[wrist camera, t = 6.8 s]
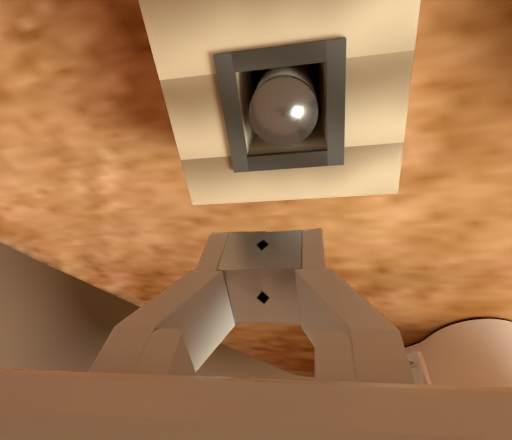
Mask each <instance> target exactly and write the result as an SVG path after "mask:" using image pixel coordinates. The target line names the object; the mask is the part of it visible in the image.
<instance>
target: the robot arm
mask: <svg viewBox="0 0 512 440" xmlns="http://www.w3.org/2000/svg"><path fill="white" fill-rule="evenodd" d="M235 323H286V324H300V326H301V328H302V329H303V331H304V332H305V334H306V335H307V337H308V339H309V340H310V342H311V343H312V345H313V346H314V348H315V380H296V379H294V380H293V379H269V378H243V377H216V376H197V374H196V371H197V370H198V369H199V368H200V367H201V365H202V364H203V363H204V362H205V361H206V359H207V358H208V357H209V356H210V355H211V354H212V352H213V351H214V350H215V349H216V347H217V346H218V345H219V344H220V343H221V342H222V340H223V339H224V338H225V337H226V336H227V334H228V333H229V332H230V331H231V330H232V328H233V327H234V326H235ZM0 440H512V322H510V321H506V320H499V319H477V320H469V321H464V322H460V323H456V324H453V325H450V326H447V327H445V328H443V329H441V330H439V331H437V332H435V333H433V334H432V335H431V336H429V337H428V338H426V339H425V340H424V341H422V342H420V343H418V344H415V345H412V346H409V347H406V348H405V347H404V344H403V340H402V337H401V334H400V330H399V329H398V328H396V327H395V326H394V325H393V324H392V323H391V322H390V321H389V320H388V319H386V318H385V317H384V316H383V315H382V314H381V313H380V312H379V311H378V310H377V309H375V308H374V307H373V306H372V305H371V304H370V303H369V302H368V301H367V300H366V299H364V298H363V297H362V296H361V295H360V294H359V293H358V292H357V291H356V290H354V289H353V288H352V287H351V286H350V285H349V284H348V283H347V282H346V281H345V280H343V279H342V278H341V277H340V276H339V275H338V274H337V273H336V272H335V271H333V270H332V269H326V267H325V255H324V243H323V231H322V229H321V228H319V229H305V230H294V231H274V232H266V231H264V232H216V233H212V234H210V236H209V238H208V241H207V243H206V246H205V248H204V251H203V253H202V256H201V258H200V261H199V264H198V266H197V269H196V271H190V272H188V273H187V274H186V275H184V276H183V277H182V278H180V279H179V280H177V281H176V282H175V283H173V284H172V285H171V286H169V287H168V288H166V289H165V290H164V291H162V292H161V293H160V294H158V295H157V296H155V297H154V298H153V299H151V300H150V301H149V302H147V303H146V304H144V305H143V306H142V307H140V308H139V309H138V310H136V311H135V312H133V313H132V314H131V315H129V316H128V317H127V318H125V319H124V320H123V321H121V322H120V323H118V324H117V325H116V326H115V327H114V328H113V330H112V332H111V334H110V335H109V337H108V339H107V340H106V342H105V344H104V345H103V347H102V349H101V351H100V352H99V354H98V356H97V358H96V359H95V361H94V363H93V365H92V366H91V368H90V370H89V371H88V372H80V371H52V370H24V369H0Z"/></svg>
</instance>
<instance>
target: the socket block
mask: <svg viewBox="0 0 512 440" xmlns="http://www.w3.org/2000/svg"><path fill="white" fill-rule="evenodd" d="M138 1H139V5H140V9H141V13H142V16H143V20H144V24H145V28H146V31H147V35H148V39H149V43H150V47H151V50H152V54H153V58H154V62H155V65H156V69H157V73H158V77H159V80H160V84H161V88H162V92H163V95H164V99H165V103H166V107H167V110H168V114H169V118H170V122H171V125H172V129H173V133H174V137H175V141H176V144H177V148H178V152H179V156H180V159H181V163H182V167H183V171H184V174H185V178H186V182H187V186H188V189H189V193H190V197H191V201H192V204H193V205H205V204H223V203H240V202H258V201H275V200H293V199H310V198H328V197H345V196H362V195H380V194H397V193H398V186H399V178H400V169H401V161H402V152H403V144H404V136H405V127H406V119H407V110H408V102H409V94H410V85H411V77H412V68H413V60H414V52H415V43H416V35H417V26H418V18H419V10H420V1H421V0H138ZM313 63H318V103H319V104H318V118H317V122H316V125H315V127H314V129H313V130H312V132H311V133H310V135H309V136H308V137H307V138H306V139H304V140H303V141H301V142H300V143H298V144H295V145H292V146H287V147H279V146H274V145H271V144H268V143H266V142H265V141H263V140H262V139H261V138H260V137H259V136H258V135H257V134H256V133H255V131H254V130H253V128H252V126H251V123H250V119H249V106H250V102H251V99H252V97H253V94H254V92H255V90H256V87H257V85H258V77H257V70H262V69H270V68H279V67H287V66H296V65H304V64H313Z"/></svg>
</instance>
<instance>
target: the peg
mask: <svg viewBox="0 0 512 440" xmlns="http://www.w3.org/2000/svg"><path fill="white" fill-rule="evenodd" d="M317 118H318V105H317V99H316V94H315V88H314V83H313V77H312V72H311V68H310V65H309V64H304V65H296V66H287V67H279V68H270V69H264V71H263V74H262V76H261V78H260V81H259V83H258V85H257V87H256V90H255V92H254V94H253V97H252V99H251V102H250V106H249V119H250V123H251V126H252V128H253V130H254V131H255V133H256V134H257V135H258V136H259V137H260V138H261V139H262V140H263V141H265V142H266V143H268V144H271V145H274V146H279V147H287V146H292V145H295V144H298V143H300V142H301V141H303V140H304V139H306V138H307V137H308V136H309V135H310V133H311V132H312V130H313V129H314V127H315V125H316V122H317Z"/></svg>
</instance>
